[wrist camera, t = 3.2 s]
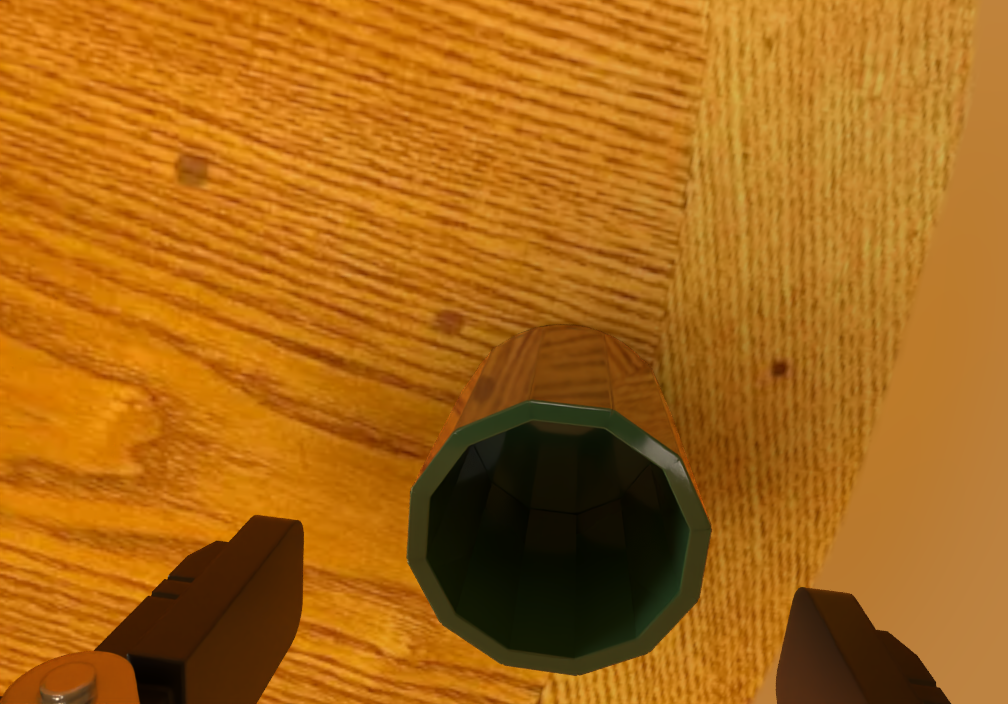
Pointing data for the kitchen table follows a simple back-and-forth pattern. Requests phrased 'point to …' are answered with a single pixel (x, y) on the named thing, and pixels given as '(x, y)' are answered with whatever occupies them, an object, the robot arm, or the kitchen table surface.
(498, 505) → the green faceted cup
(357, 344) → the kitchen table surface
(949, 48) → the kitchen table surface
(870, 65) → the kitchen table surface
